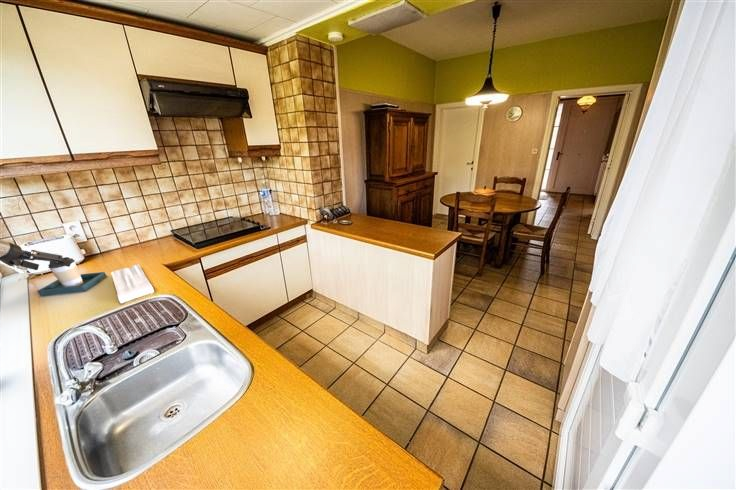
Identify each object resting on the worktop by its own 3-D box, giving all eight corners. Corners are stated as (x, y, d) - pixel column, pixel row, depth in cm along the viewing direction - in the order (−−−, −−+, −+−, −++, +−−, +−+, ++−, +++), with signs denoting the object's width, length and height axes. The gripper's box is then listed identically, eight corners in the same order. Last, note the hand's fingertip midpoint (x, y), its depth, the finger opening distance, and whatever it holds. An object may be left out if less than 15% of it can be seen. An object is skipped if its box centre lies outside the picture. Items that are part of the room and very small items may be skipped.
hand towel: (138, 262, 150) (152, 287, 125) (141, 268, 152) (155, 293, 126) (109, 270, 142) (118, 299, 117) (112, 276, 144) (121, 306, 118)
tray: (40, 296, 128) (36, 291, 127) (66, 281, 142) (63, 276, 140) (85, 291, 131) (82, 286, 130) (107, 276, 144) (104, 271, 143)
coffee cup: (85, 279, 142) (71, 253, 136) (87, 284, 136) (73, 258, 130) (60, 286, 135) (45, 260, 129) (62, 292, 130) (46, 265, 124)
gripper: (-40, 262, 104) (21, 276, 124) (33, 255, 108) (81, 270, 127) (-33, 244, 107) (26, 261, 127) (38, 238, 110) (84, 255, 130)
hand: (53, 265), depth 127 cm, fingers open, 13 cm apart
